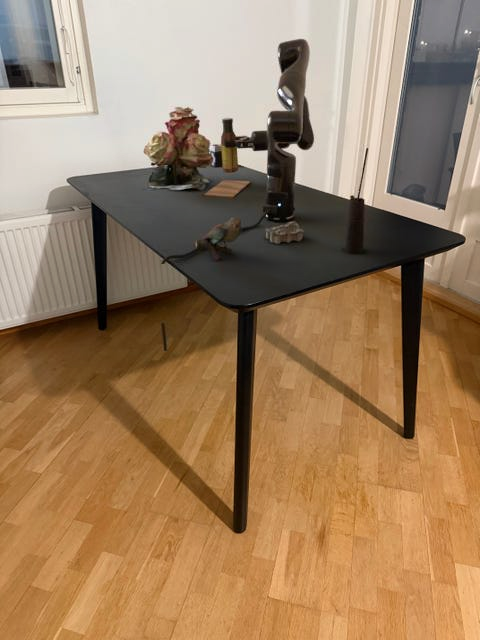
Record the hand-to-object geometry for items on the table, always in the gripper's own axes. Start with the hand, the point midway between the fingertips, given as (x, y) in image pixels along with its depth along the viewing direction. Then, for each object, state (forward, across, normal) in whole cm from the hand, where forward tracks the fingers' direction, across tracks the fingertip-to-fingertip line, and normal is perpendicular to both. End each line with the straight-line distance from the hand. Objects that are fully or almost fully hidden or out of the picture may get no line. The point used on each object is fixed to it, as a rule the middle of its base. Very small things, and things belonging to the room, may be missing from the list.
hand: (223, 143), depth 182 cm
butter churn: (-21, -75, -18) cm, 80 cm away
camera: (-8, +47, -18) cm, 51 cm away
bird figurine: (+17, -70, -18) cm, 74 cm away
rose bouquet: (+15, +12, -18) cm, 26 cm away
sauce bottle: (-2, 0, -11) cm, 11 cm away
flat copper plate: (-1, -1, -18) cm, 18 cm away
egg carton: (-6, -62, -18) cm, 65 cm away
